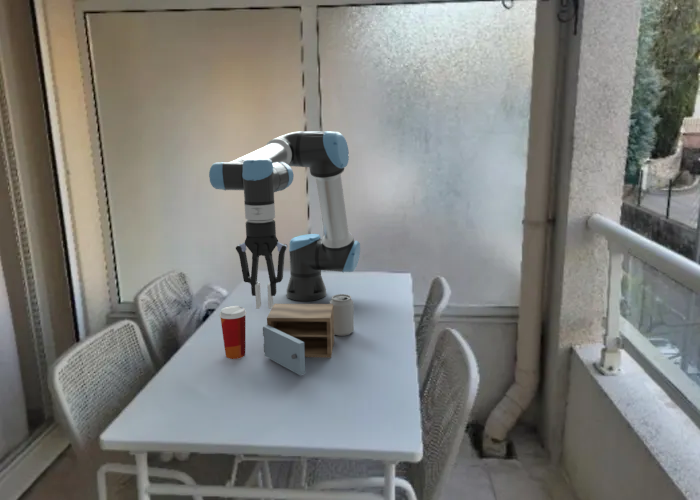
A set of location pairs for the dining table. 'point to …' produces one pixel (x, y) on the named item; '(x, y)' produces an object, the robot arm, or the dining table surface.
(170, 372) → the dining table surface
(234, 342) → the paper cup
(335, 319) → the can
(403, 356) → the dining table surface
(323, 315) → the cabinet
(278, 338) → the door
